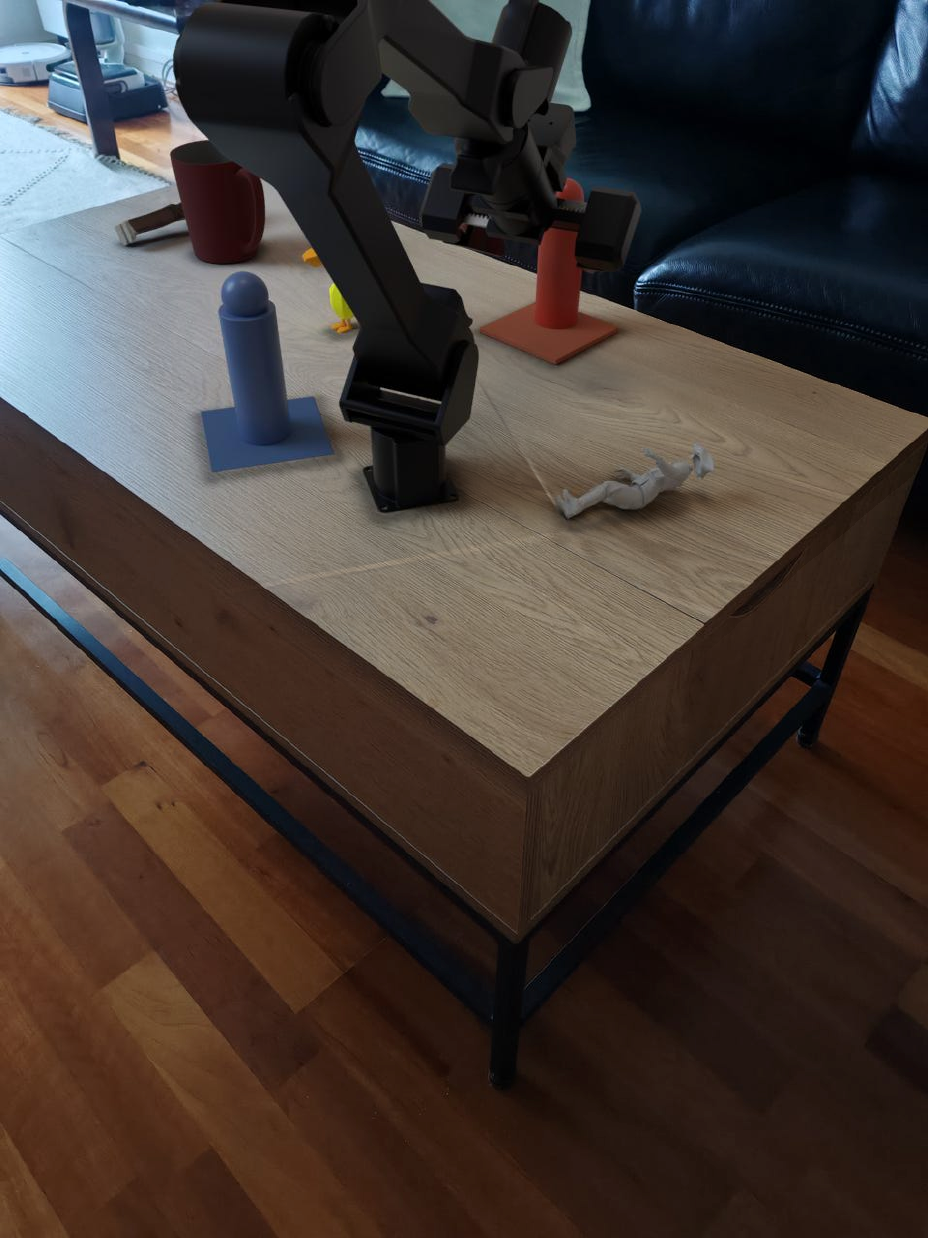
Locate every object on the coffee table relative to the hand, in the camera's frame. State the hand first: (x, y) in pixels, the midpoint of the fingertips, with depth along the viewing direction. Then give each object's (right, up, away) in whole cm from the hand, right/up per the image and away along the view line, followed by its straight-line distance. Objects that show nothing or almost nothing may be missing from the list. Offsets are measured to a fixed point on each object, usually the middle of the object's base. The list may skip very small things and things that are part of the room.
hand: (547, 259), depth 92 cm
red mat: (+1, -5, +7) cm, 8 cm away
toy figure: (-20, -5, +6) cm, 22 cm away
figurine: (-41, +12, +26) cm, 50 cm away
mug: (-34, +8, +21) cm, 41 cm away
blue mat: (-25, -18, -9) cm, 32 cm away
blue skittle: (-25, -18, -9) cm, 32 cm away
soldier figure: (+5, -25, -16) cm, 30 cm away
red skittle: (+2, -3, +8) cm, 8 cm away
